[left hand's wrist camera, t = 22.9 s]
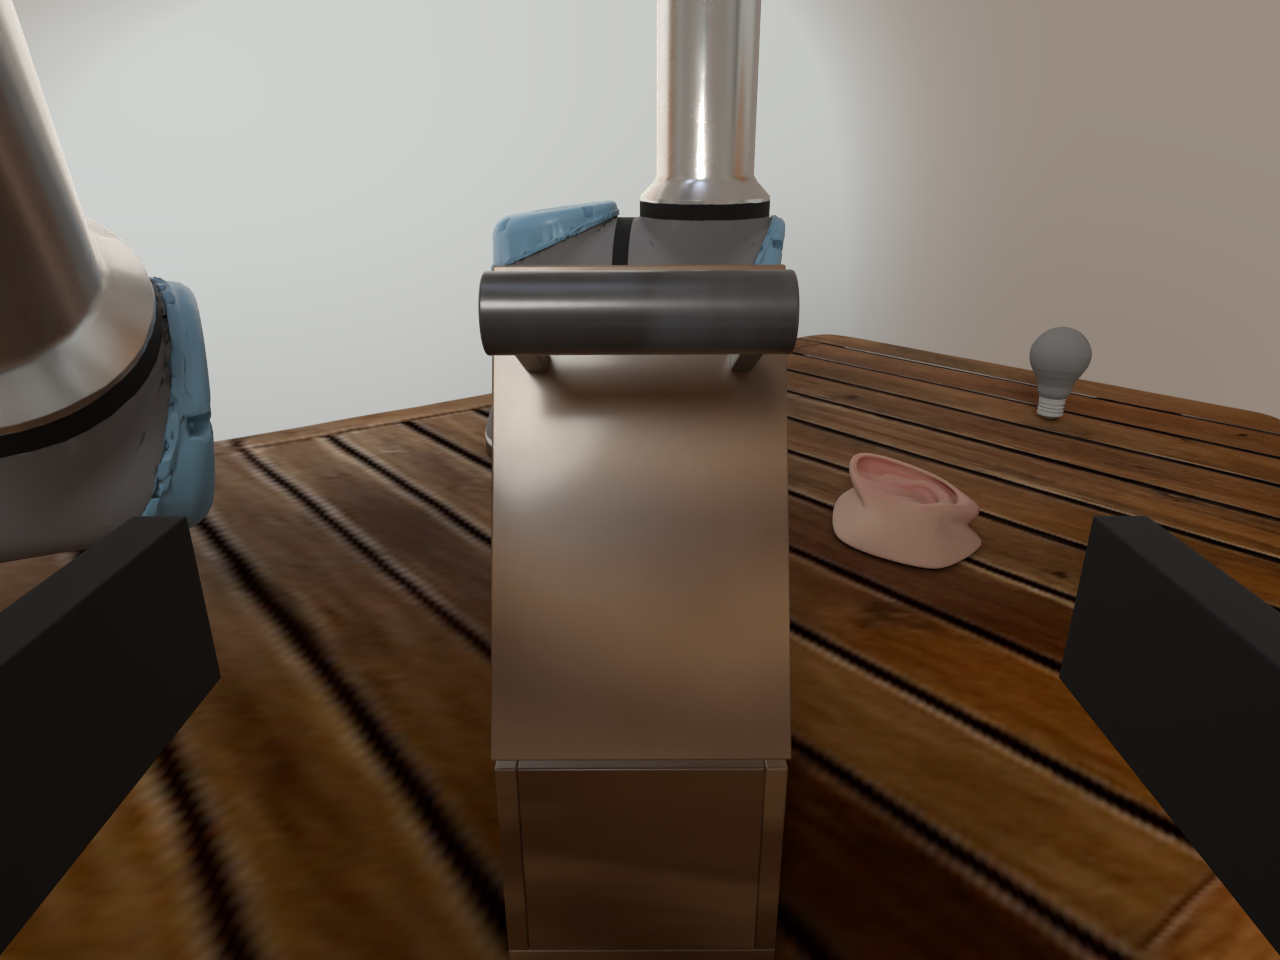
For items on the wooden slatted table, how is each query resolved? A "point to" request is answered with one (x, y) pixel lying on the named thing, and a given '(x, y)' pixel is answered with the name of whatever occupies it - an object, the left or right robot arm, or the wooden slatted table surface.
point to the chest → (641, 858)
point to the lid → (639, 511)
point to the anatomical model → (905, 514)
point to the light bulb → (1058, 367)
